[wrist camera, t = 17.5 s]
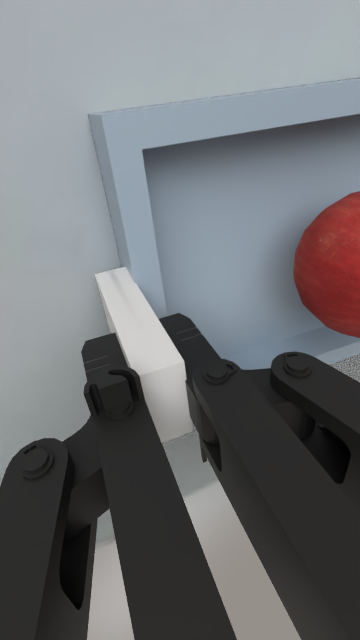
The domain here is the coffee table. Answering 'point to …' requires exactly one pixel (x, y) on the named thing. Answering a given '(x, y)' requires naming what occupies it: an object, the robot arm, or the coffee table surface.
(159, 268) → the tray
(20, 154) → the coffee table surface
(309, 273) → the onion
